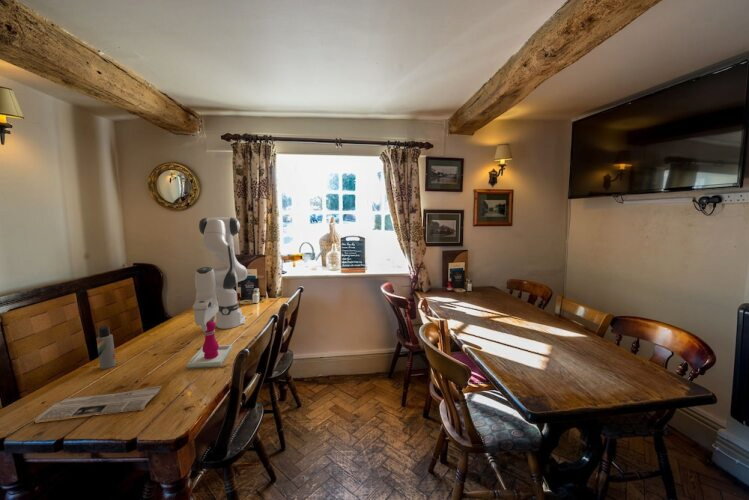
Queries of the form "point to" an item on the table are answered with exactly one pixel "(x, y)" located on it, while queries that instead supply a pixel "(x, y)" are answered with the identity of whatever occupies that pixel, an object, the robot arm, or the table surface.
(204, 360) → the tray
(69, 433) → the table surface
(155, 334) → the table surface
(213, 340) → the pepper mill
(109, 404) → the newspaper
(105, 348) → the lotion bottle
